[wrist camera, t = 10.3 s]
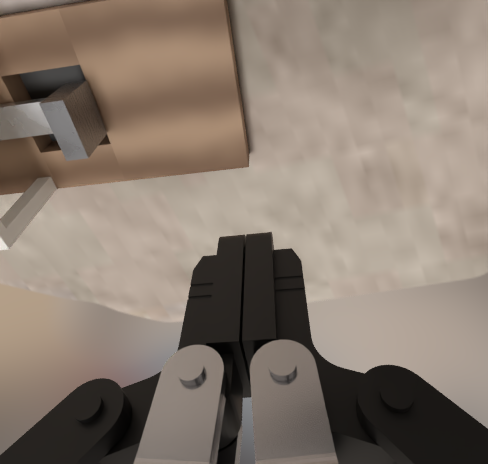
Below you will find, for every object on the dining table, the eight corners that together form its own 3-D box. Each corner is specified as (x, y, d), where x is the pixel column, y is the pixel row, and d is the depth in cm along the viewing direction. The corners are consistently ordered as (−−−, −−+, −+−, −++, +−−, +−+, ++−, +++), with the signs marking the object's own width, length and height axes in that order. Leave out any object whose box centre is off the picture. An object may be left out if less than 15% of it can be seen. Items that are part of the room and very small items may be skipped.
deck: (-194, 48, 35) (-227, 56, 33) (223, -23, 31) (220, -19, 29) (-80, 191, 45) (-99, 206, 43) (249, 153, 41) (248, 166, 38)
